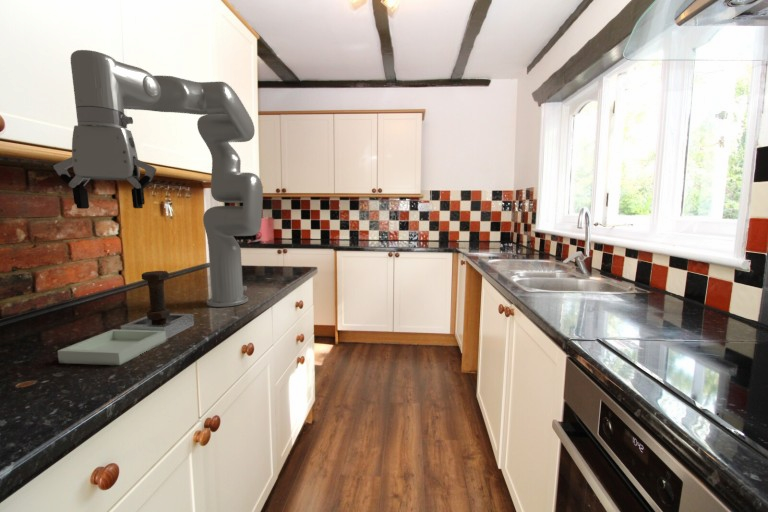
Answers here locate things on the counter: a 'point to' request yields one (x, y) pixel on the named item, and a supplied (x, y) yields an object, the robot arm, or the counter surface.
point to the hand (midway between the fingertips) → (111, 208)
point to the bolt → (157, 296)
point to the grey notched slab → (171, 327)
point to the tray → (112, 347)
